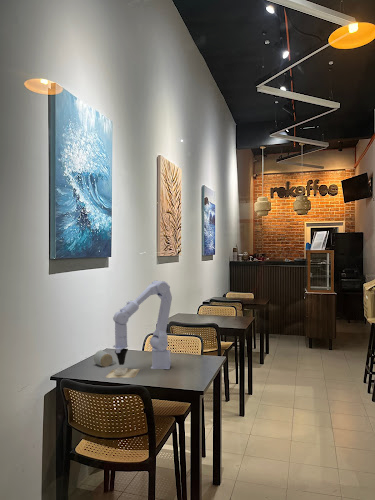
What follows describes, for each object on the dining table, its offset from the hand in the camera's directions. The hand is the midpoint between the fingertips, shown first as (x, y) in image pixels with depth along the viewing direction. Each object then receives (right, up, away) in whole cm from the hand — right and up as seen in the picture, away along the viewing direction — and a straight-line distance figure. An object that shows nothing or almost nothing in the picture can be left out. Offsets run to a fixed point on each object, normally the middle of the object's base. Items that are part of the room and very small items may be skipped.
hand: (121, 364), depth 196 cm
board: (+1, -4, -2) cm, 5 cm away
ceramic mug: (-11, -5, +16) cm, 20 cm away
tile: (0, -3, +2) cm, 3 cm away
